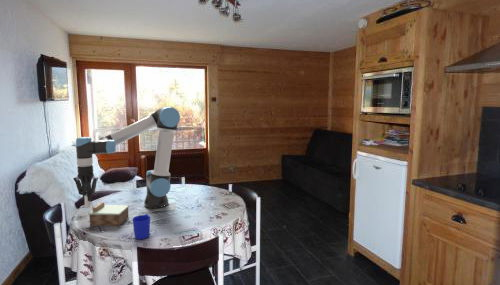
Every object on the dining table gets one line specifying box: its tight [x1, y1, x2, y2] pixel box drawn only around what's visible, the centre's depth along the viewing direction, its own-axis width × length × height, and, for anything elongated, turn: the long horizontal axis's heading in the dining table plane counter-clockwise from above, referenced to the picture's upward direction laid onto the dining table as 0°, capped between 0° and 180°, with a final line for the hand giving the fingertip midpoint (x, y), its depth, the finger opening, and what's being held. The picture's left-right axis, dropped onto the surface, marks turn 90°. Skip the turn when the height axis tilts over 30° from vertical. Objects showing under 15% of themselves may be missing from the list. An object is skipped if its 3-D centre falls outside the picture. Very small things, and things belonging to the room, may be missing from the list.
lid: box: [87, 201, 130, 215], centre depth 168 cm, size 17×13×3 cm
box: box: [89, 207, 130, 227], centre depth 168 cm, size 16×12×6 cm
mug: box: [132, 213, 151, 240], centre depth 151 cm, size 8×12×10 cm
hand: (87, 206), depth 168 cm, fingers closed
